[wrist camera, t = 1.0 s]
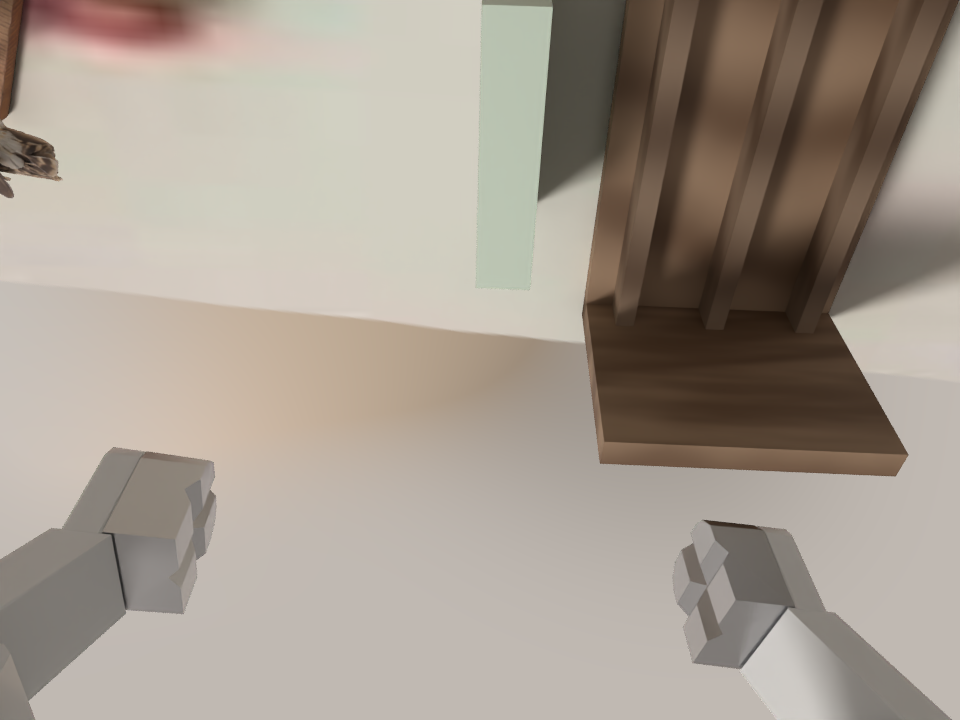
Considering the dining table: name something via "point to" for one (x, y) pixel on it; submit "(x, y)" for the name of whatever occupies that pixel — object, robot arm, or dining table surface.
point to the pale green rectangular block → (510, 138)
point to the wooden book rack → (745, 229)
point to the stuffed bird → (3, 144)
